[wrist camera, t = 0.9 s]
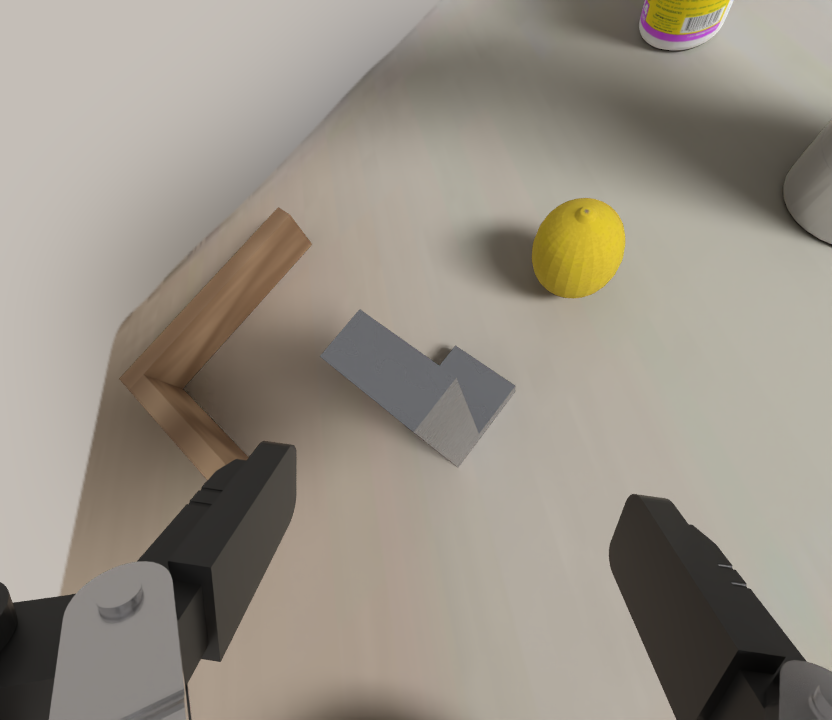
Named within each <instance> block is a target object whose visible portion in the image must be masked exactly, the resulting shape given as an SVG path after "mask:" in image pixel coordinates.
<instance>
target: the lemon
mask: <svg viewBox="0 0 832 720" xmlns="http://www.w3.org/2000/svg"><path fill="white" fill-rule="evenodd" d="M624 248H625V233H624V226H623V223H622V221H621V219H620V217H619V215H618V214H617V213H616V212H615V210H614V209H613V208H612V207H610V206H609V205H607V204H606V203H604V202H601V201H599V200H596V199H590V198H581V199H574V200H570V201H567V202H565V203H563V204H561V205H559V206H558V207H556V208H555V209H554V210H553V211H552V212H550V213H549V214H548V216H547V217H546V218H545V220H544V221H543V222H542V224H541V225H540V227H539V229H538V232H537V234H536V237H535V239H534V242H533V248H532V264H533V268H534V272H535V275H536V277H537V278H538V280H539V282H540V283H541V284H542V285H543V286H544V287H545V288H546V289H547V290H548V291H550V292H551V293H553V294H555V295H557V296H560V297H564V298H581V297H585V296H588V295H591V294H593V293H595V292H596V291H598V290H600V289H601V288H603V287H604V286H605V285H606V284H607V283H608V282H609V281H610V280H611V278H612V277H613V276H614V275H615V273H616V271H617V269H618V267H619V265H620V263H621V261H622V259H623V254H624Z"/></svg>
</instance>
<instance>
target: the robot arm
mask: <svg viewBox="0 0 832 720" xmlns="http://www.w3.org/2000/svg"><path fill="white" fill-rule="evenodd" d="M783 194H784V200H785V203H786V206H787V209H788V210H789V212H790V213H791V215H792V216H793V218H794V219H795V220H796V221H797V222H798V223H799V224H800V225H801V226H802V227H803V228H804V229H805V230H806V231H808V232H809V233H811V234H812V235H814V236H816V237H817V238H819V239H821V240H823V241H825V242H828V243H830V244H832V119H831V120H830V122H829V123H828V124H827V125H826V126H825V128H824V129H823V130H822V131H821V132H820V134H819V135H818V136H817V137H816V138H815V140H814V141H813V142H812V143H811V144H810V146H809V147H808V148H807V149H806V150H805V152H804V153H803V154H802V155H801V156H800V158H799V159H798V160H797V161H796V162H795V164H794V165H793V166H792V167H791V169H790V171H789V172H788V174H787V175H786V178H785V182H784V186H783ZM295 503H296V448H295V446H294V445H289V444H282V443H275V442H268V441H262V442H261V443H260V444H259V445H258V446H257V448H256V449H255V450H254V451H253V453H252V454H251V455H250V457H249V458H248V459H247V460H241V459H235V460H233V461H232V462H230V463H228V464H227V465H225V466H223V467H222V468H220V469H218V470H217V471H215V472H214V474H213V475H212V476H211V477H210V478H209V479H208V480H207V482H206V483H205V484H204V485H203V486H202V489H201V491H200V490H199V491H198V492H197V493H196V494H195V495H194V497H193V498H192V499H191V500H190V503H189V505H188V504H187V505H186V506H185V507H184V508H183V509H182V510H181V512H180V513H179V514H178V515H177V516H176V517H175V518H174V520H173V521H172V522H171V523H170V524H169V525H168V527H167V528H166V529H165V530H164V531H163V532H162V533H161V535H160V536H159V537H158V538H157V539H156V540H155V541H154V543H153V544H152V545H151V546H150V547H149V548H148V550H147V551H146V552H145V553H144V554H143V555H142V556H141V558H140V559H139V560H138V561H137V562H132V563H127V564H124V565H120V566H117V567H115V568H112V569H110V570H108V571H106V572H104V573H102V574H100V575H99V576H97V577H95V578H94V579H92V580H91V581H90V582H88V583H87V584H86V585H85V586H84V587H82V588H81V589H80V590H79V591H78V592H77V593H76V594H72V595H66V596H59V597H52V598H44V599H38V600H30V601H23V602H15V603H12V600H11V597H10V594H9V592H8V589H7V588H6V586H5V585H4V584H2V583H0V720H192V714H191V705H190V697H189V688H188V681H189V680H190V678H191V676H192V674H193V672H194V670H195V669H196V667H197V665H198V663H199V661H200V659H206V660H212V661H218V662H221V660H222V658H223V656H224V654H225V652H226V650H227V648H228V646H229V644H230V642H231V640H232V638H233V636H234V634H235V632H236V630H237V628H238V626H239V624H240V622H241V620H242V618H243V616H244V614H245V612H246V610H247V608H248V606H249V604H250V602H251V600H252V598H253V596H254V594H255V592H256V590H257V588H258V586H259V584H260V582H261V580H262V578H263V576H264V574H265V572H266V570H267V568H268V566H269V564H270V562H271V560H272V558H273V556H274V554H275V552H276V550H277V548H278V546H279V544H280V542H281V540H282V538H283V536H284V534H285V532H286V530H287V528H288V526H289V523H290V521H291V519H292V516H293V512H294V508H295ZM609 561H610V567H611V570H612V573H613V575H614V578H615V580H616V582H617V584H618V587H619V589H620V591H621V594H622V596H623V598H624V600H625V603H626V605H627V607H628V610H629V612H630V614H631V617H632V619H633V621H634V623H635V626H636V628H637V630H638V633H639V635H640V637H641V639H642V642H643V644H644V646H645V649H646V651H647V653H648V655H649V658H650V660H651V662H652V665H653V667H654V669H655V671H656V674H657V676H658V678H659V681H660V683H661V685H662V688H663V690H664V692H665V694H666V697H667V699H668V701H669V704H670V706H671V708H672V710H673V713H674V715H675V717H676V720H832V672H831V671H829V670H827V669H825V668H823V667H821V666H818V665H816V664H813V663H809V662H807V661H806V660H805V659H804V658H803V656H802V655H801V654H800V652H799V651H798V650H797V648H796V647H795V646H794V645H793V643H792V642H791V641H790V639H789V638H788V637H787V636H786V634H785V633H784V632H783V630H782V629H781V628H780V627H779V625H778V624H777V623H776V621H775V620H774V619H773V617H772V616H771V615H770V614H769V612H768V611H767V610H766V608H765V607H764V606H763V605H762V603H761V602H760V601H759V599H758V598H757V597H756V596H755V594H754V593H753V592H752V590H751V589H749V588H747V587H746V583H745V581H744V580H743V579H742V577H741V576H740V575H739V574H738V572H737V571H736V570H733V569H732V565H731V563H730V562H729V561H728V559H727V558H726V557H725V555H724V554H723V553H722V552H721V550H720V549H719V548H718V546H717V545H716V544H715V543H714V542H712V541H711V540H710V539H709V538H708V537H706V536H705V535H704V534H703V533H702V532H700V531H699V530H698V529H697V528H696V527H694V526H693V525H689V524H688V523H687V522H686V520H685V519H684V518H683V516H682V515H681V514H680V512H679V511H678V510H677V508H676V507H675V505H674V504H673V503H672V502H671V501H670V500H668V499H665V498H658V497H651V496H644V495H637V494H632V495H630V496H629V497H628V499H627V501H626V503H625V506H624V508H623V511H622V514H621V516H620V519H619V521H618V524H617V527H616V529H615V532H614V535H613V537H612V540H611V543H610V547H609Z"/></svg>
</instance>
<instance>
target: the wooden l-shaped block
mask: <svg viewBox="0 0 832 720" xmlns="http://www.w3.org/2000/svg"><path fill="white" fill-rule="evenodd" d="M311 245H312V244H311V242H310V241H309V240H308V238H307V237H306V236H305V234H304V233H303V232H302V230H301V229H300V227H299V226H298V225H297V223H296V222H295V221H294V219H293V218H292V217H291V215H289V214H288V213H286V212H285V211H283V210H282V209H280V208H279V207H278V208H277V209H276V210H275V211H274V212H273V214H272V215H271V216H270V217H269V218H268V219H267V220H266V221H265V222H264V223H263V224H262V225H261V226H260V228H259V229H258V230H257V231H256V232H255V233H254V234H253V235H252V236H251V237H250V238H249V239H248V240H247V242H246V243H245V244H244V245H243V246H242V247H241V248H240V249H239V250H238V251H237V252H236V253H235V254H234V256H233V257H232V258H231V259H230V260H229V261H228V262H227V263H226V264H225V265H224V266H223V267H222V268H221V270H220V271H219V272H218V273H217V274H216V275H215V276H214V277H213V278H212V279H211V280H210V281H209V282H208V284H207V285H206V286H205V287H204V288H203V289H202V290H201V291H200V292H199V293H198V294H197V295H196V296H195V298H194V299H193V300H192V301H191V302H190V303H189V304H188V305H187V306H186V307H185V308H184V309H183V310H182V312H181V313H180V314H179V315H178V316H177V317H176V318H175V319H174V320H173V321H172V322H171V323H170V324H169V326H168V327H167V328H166V329H165V330H164V331H163V332H162V333H161V334H160V335H159V336H158V337H157V338H156V340H155V341H154V342H153V343H152V344H151V345H150V346H149V347H148V348H147V349H146V350H145V351H144V352H143V354H142V355H141V356H140V357H139V358H138V359H137V360H136V361H135V362H134V363H133V364H132V365H131V366H130V368H129V369H128V370H127V371H126V372H125V373H124V374H123V375H122V376H121V377H120V378H119V379H120V380H121V382H122V383H123V384H124V385H125V386H126V387H127V388H128V390H129V391H130V392H131V393H132V394H133V395H134V397H135V398H136V399H137V400H138V401H139V402H140V403H141V405H142V406H143V407H144V408H145V409H146V410H147V411H148V413H149V414H150V415H151V416H152V417H153V418H154V419H155V421H156V422H157V423H158V424H159V425H160V426H161V427H162V429H163V430H164V431H165V432H166V433H167V434H168V436H169V437H170V438H171V439H172V440H173V441H174V442H175V444H176V445H177V446H178V447H179V448H180V449H181V450H182V452H183V453H184V454H185V455H186V456H187V457H188V458H189V460H190V461H191V462H192V463H193V464H194V465H195V466H196V468H197V469H198V470H199V471H200V472H201V473H202V475H203V476H204V477H205V478H206V479H207V480H208V479H209V478H210V477H211V476H212V475H213V474H214V472H215V471H217V470H218V469H220V468H222V467H223V466H225V465H227V464H228V463H230V462H232V461H233V460H235V459H241V460H247V459H248V458H249V457H248V456H247V455H246V454H245V453H244V452H243V451H242V450H241V449H240V448H239V447H238V446H237V445H236V444H235V443H234V442H233V441H232V440H231V439H230V438H229V437H228V436H227V434H226V433H225V432H224V431H223V430H222V429H221V428H220V427H219V426H218V425H217V424H216V423H215V422H214V421H213V420H212V419H211V418H210V417H209V416H208V415H207V414H206V413H205V412H204V410H203V409H202V408H201V407H200V406H199V405H198V404H197V403H196V402H195V401H194V400H193V399H192V398H191V397H190V396H189V395H188V394H187V393H186V392H185V391H184V390H183V388H184V387H185V386H186V384H187V383H188V382H189V381H190V380H191V379H192V378H193V377H194V376H195V374H196V373H197V372H198V371H199V370H200V369H201V368H202V367H203V366H204V364H205V363H206V362H207V361H208V360H209V359H210V358H211V357H212V355H213V354H214V353H215V352H216V351H217V350H218V349H219V348H220V347H221V345H222V344H223V343H224V342H225V341H226V340H227V339H228V338H229V337H230V335H231V334H232V333H233V332H234V331H235V330H236V329H237V328H238V326H239V325H240V324H241V323H242V322H243V321H244V320H245V319H246V318H247V316H248V315H249V314H250V313H251V312H252V311H253V310H254V309H255V308H256V306H257V305H258V304H259V303H260V302H261V301H262V300H263V299H264V297H265V296H266V295H267V294H268V293H269V292H270V291H271V290H272V289H273V287H274V286H275V285H276V284H277V283H278V282H279V281H280V280H281V279H282V277H283V276H284V275H285V274H286V273H287V272H288V271H289V270H290V268H291V267H292V266H293V265H294V264H295V263H296V262H297V261H298V260H299V258H300V257H301V256H302V255H303V254H304V253H305V252H306V251H307V250H308V248H309V247H310V246H311Z"/></svg>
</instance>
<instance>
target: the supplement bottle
mask: <svg viewBox="0 0 832 720" xmlns="http://www.w3.org/2000/svg"><path fill="white" fill-rule="evenodd" d="M733 1H734V0H645V1H644V4H643V8H642V12H641V17H640V21H639V30H640V33H641V36H642V37H643V39H644V40H645V41H646V42H647V43H648V44H650V45H652V46H654V47H656V48H659V49H665V50H685V49H690V48H693V47H696V46H699V45H701V44H703V43H705V42H706V41H708V40H709V39H711V38H712V37H713V36H714V35H715V34H716V33H717V32H718V31H719V30H720V28H721V27H722V25H723V23H724V21H725V19H726V16H727V14H728V12H729V10H730V7H731V5H732V3H733Z"/></svg>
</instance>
